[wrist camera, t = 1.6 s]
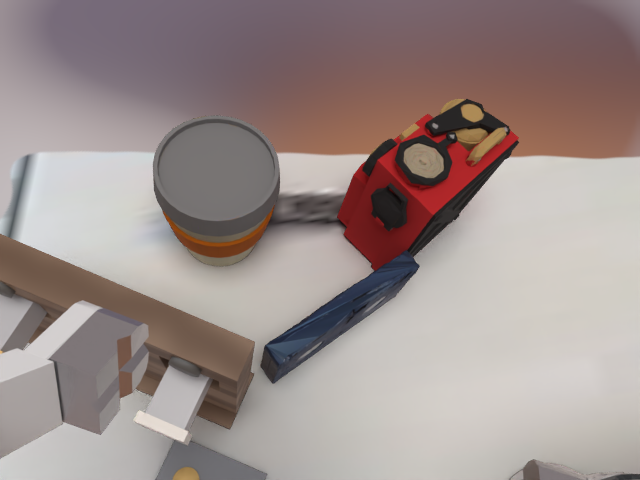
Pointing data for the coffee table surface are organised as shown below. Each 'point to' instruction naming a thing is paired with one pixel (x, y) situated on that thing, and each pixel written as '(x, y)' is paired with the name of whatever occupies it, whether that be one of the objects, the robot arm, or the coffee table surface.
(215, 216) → the reusable coffee cup
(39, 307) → the yellow and grey block
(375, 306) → the vhs cassette tape
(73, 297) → the panel
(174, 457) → the card
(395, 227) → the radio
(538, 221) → the coffee table surface
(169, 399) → the off-white rectangular block
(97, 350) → the robot arm
